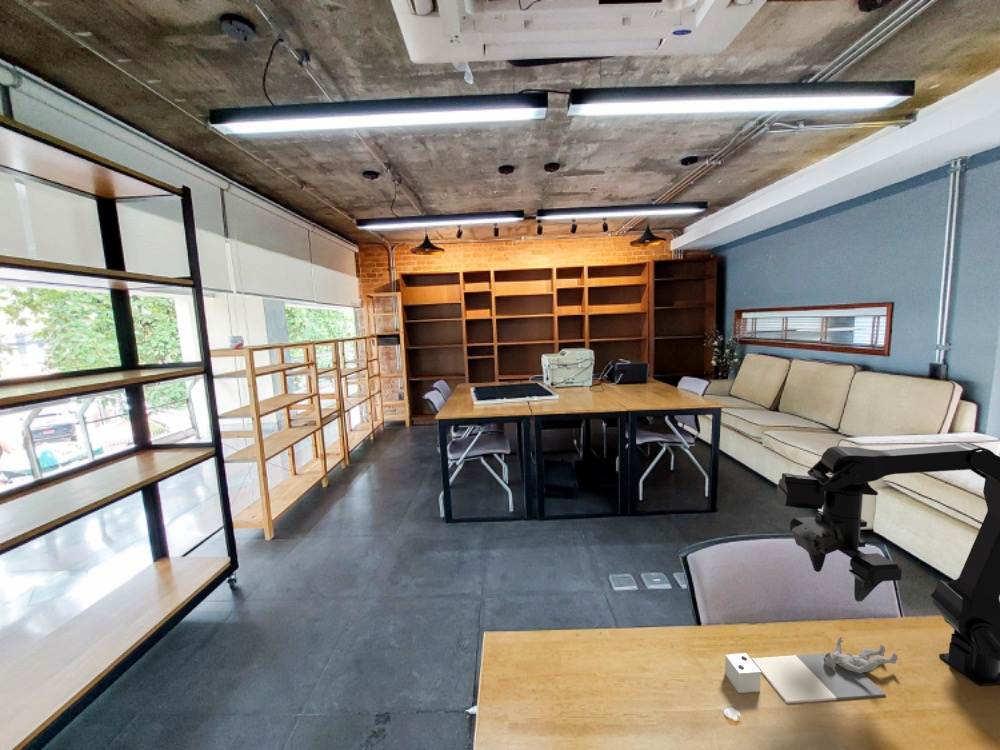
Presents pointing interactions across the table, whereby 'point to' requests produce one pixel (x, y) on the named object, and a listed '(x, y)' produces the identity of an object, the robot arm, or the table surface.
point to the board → (814, 679)
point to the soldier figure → (858, 659)
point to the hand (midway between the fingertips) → (836, 585)
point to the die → (742, 673)
